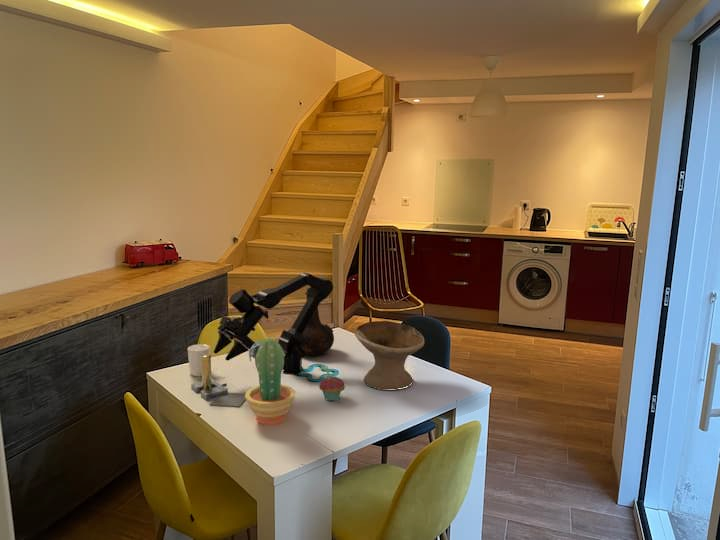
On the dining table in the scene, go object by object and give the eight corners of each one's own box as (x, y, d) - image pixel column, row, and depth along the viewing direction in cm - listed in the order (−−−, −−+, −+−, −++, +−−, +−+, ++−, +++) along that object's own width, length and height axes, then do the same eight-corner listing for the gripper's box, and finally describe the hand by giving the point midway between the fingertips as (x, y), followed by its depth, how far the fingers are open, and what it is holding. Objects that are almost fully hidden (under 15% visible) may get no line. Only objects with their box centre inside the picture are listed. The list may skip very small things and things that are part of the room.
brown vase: (336, 358, 217) (337, 292, 213) (293, 360, 213) (293, 293, 209) (330, 345, 234) (330, 283, 230) (289, 347, 231) (289, 284, 226)
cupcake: (325, 405, 171) (325, 370, 169) (315, 395, 179) (315, 361, 177) (348, 400, 175) (349, 366, 173) (338, 391, 183) (338, 358, 181)
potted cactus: (275, 403, 172) (275, 329, 168) (306, 418, 161) (306, 340, 157) (235, 417, 161) (233, 339, 157) (265, 434, 150) (264, 351, 146)
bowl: (369, 399, 177) (370, 342, 173) (343, 374, 200) (344, 323, 196) (436, 390, 186) (438, 335, 183) (404, 366, 209) (406, 318, 206)
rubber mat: (249, 395, 178) (249, 393, 178) (239, 407, 168) (239, 406, 168) (221, 393, 179) (221, 392, 179) (209, 405, 169) (209, 404, 169)
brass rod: (212, 390, 181) (212, 354, 179) (209, 394, 178) (208, 357, 176) (204, 390, 181) (203, 354, 179) (201, 393, 179) (199, 357, 176)
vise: (218, 382, 189) (218, 377, 189) (234, 393, 180) (234, 388, 179) (191, 388, 183) (191, 383, 182) (206, 400, 173) (206, 395, 173)
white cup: (204, 377, 193) (203, 351, 191) (184, 375, 195) (183, 349, 193) (214, 370, 201) (213, 345, 199) (195, 368, 202) (194, 343, 201)
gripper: (222, 302, 189) (193, 336, 184) (246, 312, 175) (216, 350, 170) (242, 320, 195) (214, 354, 190) (267, 331, 181) (238, 368, 176)
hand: (220, 356), depth 181 cm, fingers open, 9 cm apart
